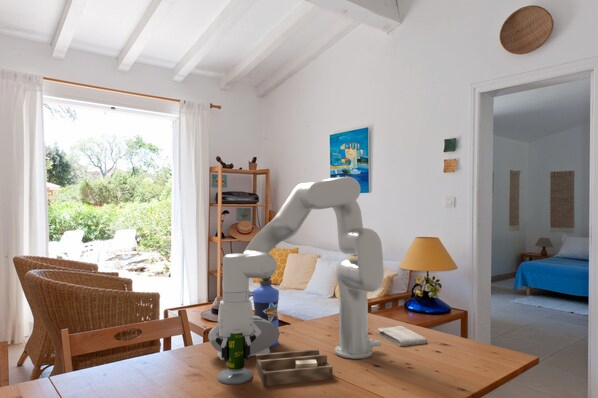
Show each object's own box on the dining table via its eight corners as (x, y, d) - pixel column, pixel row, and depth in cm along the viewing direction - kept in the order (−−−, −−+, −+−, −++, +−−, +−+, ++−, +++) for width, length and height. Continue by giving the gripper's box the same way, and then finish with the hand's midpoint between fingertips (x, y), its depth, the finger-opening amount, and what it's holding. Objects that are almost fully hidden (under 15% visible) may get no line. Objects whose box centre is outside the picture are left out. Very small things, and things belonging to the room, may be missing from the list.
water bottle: (247, 343, 157) (247, 274, 157) (268, 338, 163) (268, 271, 163) (263, 349, 150) (263, 277, 150) (284, 343, 156) (284, 274, 156)
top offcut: (315, 367, 128) (315, 359, 128) (317, 371, 125) (317, 363, 125) (295, 368, 127) (295, 360, 127) (296, 372, 124) (296, 364, 124)
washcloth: (400, 331, 174) (400, 323, 174) (428, 344, 157) (428, 336, 157) (374, 334, 170) (374, 326, 170) (400, 348, 153) (400, 339, 153)
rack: (318, 361, 138) (318, 345, 138) (332, 378, 125) (332, 361, 125) (256, 367, 133) (256, 351, 133) (263, 385, 120) (263, 367, 120)
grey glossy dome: (250, 369, 132) (250, 366, 132) (255, 382, 122) (255, 379, 122) (216, 372, 129) (216, 369, 129) (219, 386, 120) (219, 383, 120)
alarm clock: (273, 347, 153) (273, 310, 153) (279, 352, 147) (279, 314, 147) (207, 355, 144) (207, 317, 144) (211, 362, 138) (211, 321, 138)
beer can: (236, 363, 130) (236, 323, 130) (249, 368, 126) (248, 326, 126) (222, 369, 126) (222, 327, 126) (235, 373, 122) (235, 331, 122)
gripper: (262, 292, 132) (262, 352, 132) (205, 295, 128) (205, 357, 127) (267, 297, 125) (267, 360, 124) (206, 301, 120) (206, 366, 120)
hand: (235, 358), depth 126 cm, fingers closed on beer can, 5 cm apart
